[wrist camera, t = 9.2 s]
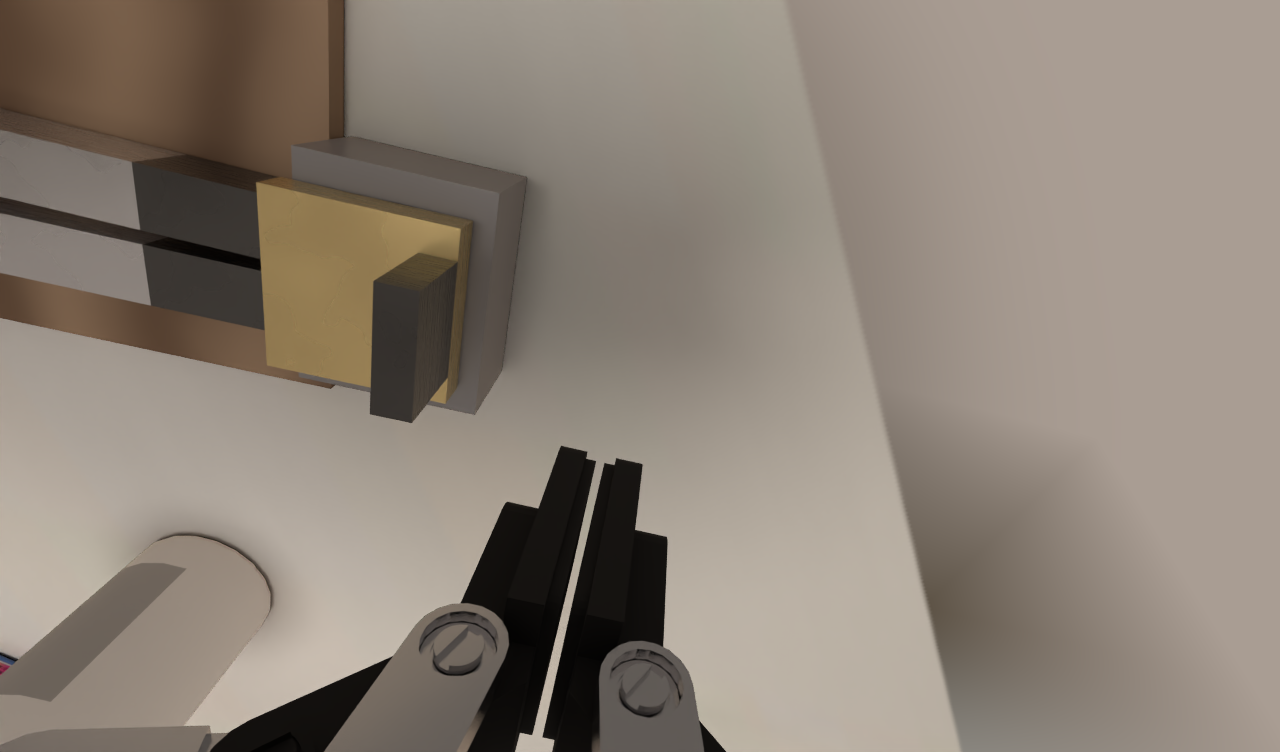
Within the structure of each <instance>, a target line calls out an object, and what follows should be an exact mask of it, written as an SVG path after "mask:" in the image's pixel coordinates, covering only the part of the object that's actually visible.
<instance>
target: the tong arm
mask: <svg viewBox="0 0 1280 752" xmlns="http://www.w3.org/2000/svg"><path fill="white" fill-rule="evenodd" d="M273 178H277V177H276V176H272V175H268V174H264V173H260V172H255V171H251V170H247V169H243V168H239V167H235V166H231V165H227V164H223V163H219V162H215V161H211V160H207V159H203V158H199V157H195V156H191V155H187V154H183V153H179V152H175V151H171V150H167V149H162V148H158V147H154V146H150V145H146V144H142V143H138V142H134V141H130V140H126V139H122V138H118V137H114V136H110V135H106V134H102V133H98V132H94V131H90V130H86V129H82V128H78V127H74V126H70V125H65V124H61V123H57V122H53V121H49V120H45V119H41V118H37V117H33V116H29V115H25V114H21V113H17V112H13V111H9V110H5V109H1V108H0V197H4V198H8V199H13V200H17V201H21V202H25V203H29V204H33V205H38V206H42V207H46V208H50V209H54V210H58V211H63V212H67V213H71V214H75V215H79V216H83V217H88V218H92V219H96V220H100V221H104V222H108V223H113V224H117V225H121V226H125V227H129V228H133V229H138V230H142V231H146V232H150V233H154V234H158V235H163V236H167V237H171V238H175V239H179V240H183V241H188V242H192V243H196V244H200V245H204V246H208V247H213V248H217V249H221V250H225V251H229V252H233V253H238V254H242V255H246V256H250V257H254V258H258V259H261V256H260V239H259V222H258V205H257V188H256V182H259V181H264V180H268V179H273Z"/></svg>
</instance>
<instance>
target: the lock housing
mask: <svg viewBox="0 0 1280 752" xmlns="http://www.w3.org/2000/svg"><path fill="white" fill-rule="evenodd" d="M291 157H292V180H297V181H301V182H305V183H310V184H314V185H319V186H323V187H327V188H332V189H336V190H340V191H345V192H349V193H353V194H358V195H362V196H367V197H371V198H375V199H380V200H384V201H388V202H393V203H397V204H401V205H406V206H410V207H415V208H419V209H423V210H428V211H432V212H436V213H441V214H445V215H449V216H454V217H458V218H463V219H467V220H471V221H473V227H472V237H471V248H470V258H469V269H468V279H467V290H466V300H465V310H464V321H463V331H462V342H461V352H460V363H459V373H458V384H457V389H456V390H455V391H454V393H453V394H452V396H451V397H450V398H449V400H448V401H447V402H446V404H444V403H439V402H435V401H429V402H428V403H427V405H432V406H436V407H441V408H446V409H450V410H455V411H460V412H464V413H469V414H474V415H475V413H476V412H477V410H478V409H479V407H480V405H481V404H482V402H483V401H484V399H485V397H486V396H487V394H488V392H489V391H490V389H491V388H492V386H493V384H494V383H495V381H496V380H497V378H498V376H499V375H500V373H501V371H502V366H503V358H504V350H505V343H506V335H507V327H508V320H509V312H510V304H511V297H512V289H513V281H514V274H515V266H516V258H517V251H518V243H519V235H520V228H521V220H522V212H523V205H524V197H525V189H526V182H527V177H524V176H520V175H516V174H511V173H507V172H503V171H498V170H494V169H490V168H486V167H481V166H477V165H473V164H468V163H464V162H460V161H456V160H451V159H447V158H443V157H438V156H434V155H430V154H426V153H421V152H417V151H413V150H408V149H404V148H400V147H396V146H391V145H387V144H383V143H378V142H374V141H370V140H366V139H361V138H357V137H353V136H350V137H343V138H336V139H329V140H322V141H315V142H308V143H301V144H294V145H291ZM299 377H301V378H306V379H311V380H315V381H320V382H325V383H329V384H334V385H339V386H343V387H348V388H353V389H357V390H362V391H367V392H371V388H370V387H365V386H360V385H356V384H351V383H346V382H342V381H337V380H332V379H328V378H323V377H319V376H314V375H309V374H305V373H300V372H299Z"/></svg>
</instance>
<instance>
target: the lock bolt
mask: <svg viewBox="0 0 1280 752" xmlns="http://www.w3.org/2000/svg"><path fill="white" fill-rule="evenodd" d="M256 188H257V205H258V222H259V239H260V256H261V273H262V291H263V308H264V325H265V342H266V359H267V366H272V367H277V368H281V369H286V370H291V371H295V372H300V373H305V374H309V375H314V376H319V377H323V378H328V379H332V380H337V381H342V382H346V383H351V384H356V385H360V386H365V387H370V388H371V392H370V414H372V415H376V416H381V417H386V418H390V419H395V420H400V421H405V422H409V423H412V422H413V421H414V420H415V418H416V417H417V416H418V415H419V413H420V412H421V411H422V410H423V408H424V407H425V406H426V405H427V403H428V402H429V401H435V402H439V403H444V404H446V402H447V401H448V400H449V398H450V397H451V396H452V394H453V393H454V391H455V390H456V389H457V384H458V373H459V363H460V352H461V342H462V331H463V321H464V310H465V300H466V290H467V279H468V269H469V258H470V248H471V237H472V227H473V221H471V220H467V219H463V218H458V217H454V216H449V215H445V214H441V213H436V212H432V211H428V210H423V209H419V208H415V207H410V206H406V205H401V204H397V203H393V202H388V201H384V200H380V199H375V198H371V197H367V196H362V195H358V194H353V193H349V192H345V191H340V190H336V189H332V188H327V187H323V186H319V185H314V184H310V183H305V182H301V181H297V180H292V179H288V178H284V177H277V178H273V179H268V180H264V181H259V182H256Z"/></svg>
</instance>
